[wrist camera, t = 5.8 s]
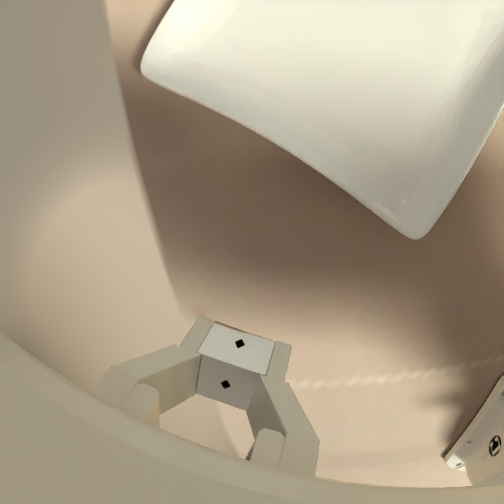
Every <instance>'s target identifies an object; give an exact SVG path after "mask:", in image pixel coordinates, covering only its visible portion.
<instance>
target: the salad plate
mask: <svg viewBox="0 0 504 504" xmlns="http://www.w3.org/2000/svg"><path fill="white" fill-rule="evenodd" d="M140 71H141V74H142V75H143V76H144V77H145V78H146V79H148V80H149V81H151V82H153V83H155V84H157V85H159V86H161V87H163V88H165V89H167V90H169V91H171V92H174V93H176V94H178V95H181V96H183V97H185V98H187V99H190V100H192V101H194V102H196V103H198V104H200V105H203V106H205V107H207V108H209V109H211V110H213V111H215V112H217V113H219V114H221V115H223V116H225V117H227V118H229V119H231V120H233V121H235V122H237V123H239V124H241V125H243V126H245V127H247V128H248V129H250V130H252V131H254V132H256V133H257V134H259V135H261V136H262V137H264V138H266V139H268V140H269V141H271V142H273V143H274V144H276V145H278V146H279V147H281V148H283V149H284V150H286V151H288V152H289V153H291V154H292V155H294V156H295V157H297V158H298V159H300V160H301V161H303V162H304V163H306V164H307V165H309V166H310V167H312V168H313V169H315V170H316V171H318V172H319V173H321V174H322V175H323V176H325V177H326V178H328V179H329V180H331V181H332V182H333V183H335V184H336V185H338V186H339V187H340V188H342V189H343V190H344V191H346V192H347V193H348V194H350V195H351V196H352V197H354V198H355V199H356V200H358V201H359V202H360V203H361V204H363V205H364V206H366V207H367V208H368V209H370V210H371V211H372V212H373V213H375V214H376V215H377V216H378V217H380V218H381V219H382V220H384V221H385V222H386V223H388V224H389V225H390V226H392V227H393V228H394V229H396V230H397V231H399V232H400V233H402V234H403V235H404V236H406V237H408V238H410V239H413V240H418V239H420V238H422V237H424V236H425V235H426V234H427V233H428V232H429V231H430V229H431V228H432V227H433V226H434V224H435V223H436V221H437V220H438V219H439V217H440V216H441V214H442V213H443V212H444V210H445V209H446V207H447V206H448V204H449V203H450V201H451V200H452V198H453V196H454V195H455V193H456V192H457V190H458V188H459V187H460V185H461V184H462V182H463V180H464V179H465V177H466V175H467V174H468V172H469V170H470V169H471V167H472V165H473V163H474V162H475V160H476V158H477V156H478V155H479V153H480V151H481V149H482V148H483V146H484V144H485V142H486V140H487V138H488V137H489V135H490V133H491V131H492V129H493V127H494V125H495V123H496V121H497V120H498V118H499V116H500V114H501V112H502V110H503V108H504V0H174V1H173V3H172V4H171V6H170V7H169V9H168V11H167V12H166V14H165V15H164V17H163V18H162V20H161V22H160V23H159V25H158V27H157V28H156V30H155V32H154V34H153V36H152V37H151V39H150V41H149V43H148V45H147V47H146V49H145V52H144V54H143V57H142V60H141V64H140Z"/></svg>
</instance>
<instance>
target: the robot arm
mask: <svg viewBox="0 0 504 504" xmlns="http://www.w3.org/2000/svg"><path fill="white" fill-rule="evenodd" d="M291 348H292V347H291V345H289V344H286V343H282V342H279V341H276V342H275V341H274V340H271V339H267V338H264V337H261V336H258V335H254V334H251V333H248V332H245V331H242V330H240V329H237V328H234V327H231V326H228V325H226V324H223V323H220V322H218V321H214V320H211V319H209V318H206V317H203V316H200V317H199V318H198V319H197V321H196V322H195V324H194V325H193V327H192V328H191V329H190V331H189V332H188V334H187V335H186V337H185V339H184V340H183V342H182V343H181V344H180V346H178V345H172V346H169V347H167V348H164V349H161V350H158V351H155V352H152V353H150V354H147V355H144V356H141V357H138V358H135V359H132V360H129V361H126V362H123V363H120V364H117V365H114V366H111V367H110V368H109V370H108V371H107V372H106V373H105V374H104V376H103V377H102V378H101V379H100V380H99V381H98V383H97V384H96V385H95V386H94V388H93V389H92V390H91V391H90V392H87V391H85V390H84V389H82V388H80V387H78V386H77V385H75V384H73V383H72V382H70V381H69V380H67V379H65V378H64V377H62V376H61V375H59V374H58V373H56V372H54V371H53V370H51V369H50V368H48V367H47V366H46V365H44V364H42V363H41V362H40V361H38V360H37V359H35V358H34V357H32V356H31V355H30V354H28V353H27V352H26V351H24V350H23V349H22V348H20V347H19V346H17V345H16V344H15V343H13V342H12V341H11V340H10V339H8V338H7V337H6V336H5V335H3V334H2V333H1V332H0V504H504V375H503V376H502V377H501V378H500V379H499V381H498V382H497V384H496V386H495V387H494V389H493V391H492V392H491V394H490V395H489V397H488V399H487V400H486V402H485V403H484V405H483V406H482V408H481V409H480V411H479V412H478V414H477V415H476V417H475V418H474V419H473V421H472V422H471V424H470V425H469V426H468V428H467V429H466V430H465V432H464V433H463V434H462V436H461V437H460V438H459V440H458V441H457V442H456V443H455V445H454V446H453V447H452V448H451V450H450V451H449V452H448V453H447V455H446V456H445V458H444V459H445V462H446V464H447V465H448V466H449V467H450V468H452V469H455V470H459V471H466V472H467V475H468V478H469V480H470V482H471V484H472V485H473V486H467V487H444V488H418V487H394V486H381V485H370V484H361V483H353V482H345V481H338V480H332V479H326V478H320V477H315V471H316V465H317V458H318V451H319V443H320V441H319V439H318V437H317V435H316V433H315V431H314V430H313V428H312V426H311V424H310V422H309V420H308V418H307V417H306V415H305V413H304V411H303V409H302V407H301V405H300V404H299V402H298V400H297V398H296V396H295V394H294V392H293V390H292V388H291V387H290V385H289V383H287V382H284V379H285V375H286V371H287V366H288V362H289V357H290V353H291ZM195 393H197V394H199V395H202V396H205V397H208V398H211V399H214V400H217V401H220V402H223V403H226V404H228V405H231V406H234V407H237V408H239V409H242V410H245V411H247V416H248V419H249V422H250V426H251V429H252V432H253V435H254V439H255V441H254V443H253V445H252V447H251V449H250V451H249V453H248V455H247V457H246V459H241V458H238V457H235V456H231V455H228V454H225V453H222V452H219V451H216V450H213V449H211V448H208V447H205V446H202V445H199V444H197V443H194V442H192V441H189V440H186V439H184V438H181V437H179V436H176V435H174V434H171V433H169V432H167V431H164V430H162V429H160V428H159V415H160V414H162V413H164V412H165V411H167V410H169V409H171V408H173V407H174V406H176V405H178V404H180V403H181V402H183V401H185V400H187V399H188V398H190V397H192V396H194V395H195Z"/></svg>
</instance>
